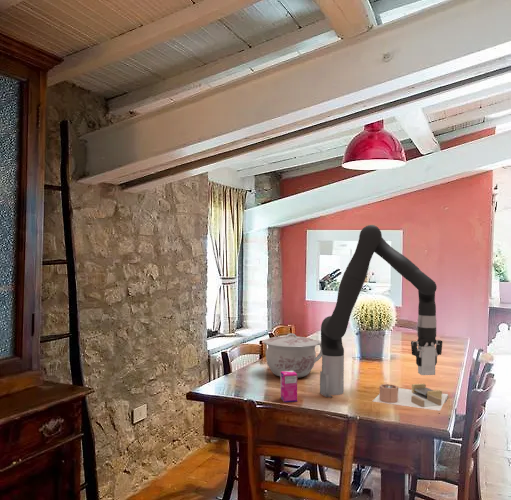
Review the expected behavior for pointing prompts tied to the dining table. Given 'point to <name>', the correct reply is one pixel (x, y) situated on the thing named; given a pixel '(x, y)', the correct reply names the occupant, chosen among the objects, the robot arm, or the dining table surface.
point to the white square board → (419, 398)
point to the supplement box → (288, 386)
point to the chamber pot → (291, 354)
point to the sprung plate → (423, 390)
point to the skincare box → (427, 361)
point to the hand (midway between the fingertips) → (426, 365)
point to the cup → (388, 393)
